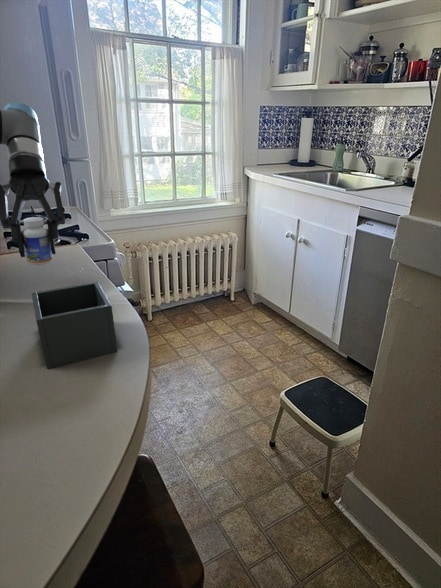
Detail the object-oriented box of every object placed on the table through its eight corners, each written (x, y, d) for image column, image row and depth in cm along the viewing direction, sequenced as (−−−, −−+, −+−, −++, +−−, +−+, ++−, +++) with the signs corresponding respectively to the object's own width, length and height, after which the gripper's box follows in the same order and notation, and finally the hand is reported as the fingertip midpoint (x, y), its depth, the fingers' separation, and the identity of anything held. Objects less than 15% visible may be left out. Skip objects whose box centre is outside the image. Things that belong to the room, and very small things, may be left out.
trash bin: (46, 369, 61) (36, 320, 57) (41, 336, 70) (31, 292, 66) (117, 351, 65) (111, 305, 62) (103, 323, 74) (97, 281, 71)
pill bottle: (21, 263, 87) (12, 220, 83) (40, 256, 91) (32, 215, 87) (41, 267, 85) (32, 223, 81) (59, 259, 89) (52, 217, 85)
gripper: (69, 173, 97) (83, 256, 90) (-15, 175, 91) (-7, 265, 84) (67, 152, 90) (82, 240, 83) (-24, 153, 84) (-16, 248, 77)
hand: (37, 252), depth 83 cm, fingers closed on pill bottle, 5 cm apart
